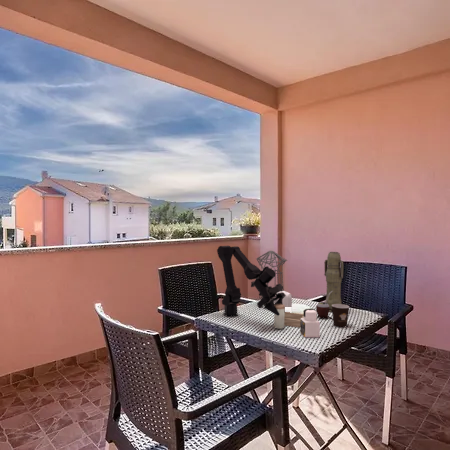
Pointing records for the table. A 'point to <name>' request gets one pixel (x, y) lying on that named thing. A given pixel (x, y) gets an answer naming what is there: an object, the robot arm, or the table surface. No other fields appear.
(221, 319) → the table surface
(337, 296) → the stone statue
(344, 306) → the coffee mug
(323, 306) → the mate gourd
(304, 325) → the medicine bottle
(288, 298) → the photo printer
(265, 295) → the robot arm
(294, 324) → the open box
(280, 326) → the ceramic jar
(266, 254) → the geometric lantern
